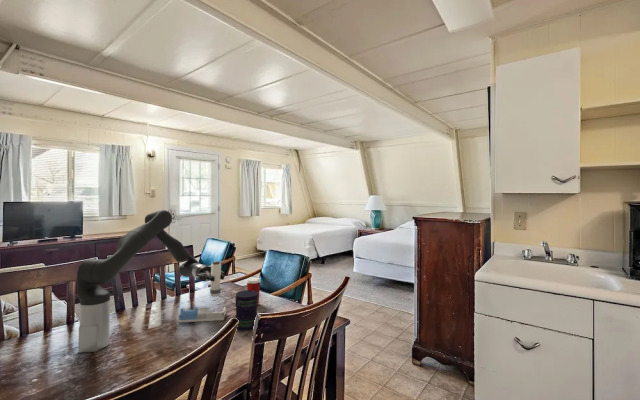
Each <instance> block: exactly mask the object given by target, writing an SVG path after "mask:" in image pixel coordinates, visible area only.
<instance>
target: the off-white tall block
mask: <svg viewBox="0 0 640 400" xmlns="http://www.w3.org/2000/svg"><path fill="white" fill-rule="evenodd" d="M210 267H211V276H214V281H213V282H212V281H210V291H209V293H210V297H219V296H220V295H221V291H222V289H221V280H222V279H221V270H222V263H221V261H219V260H215V261H212V263H211V265H210Z"/></svg>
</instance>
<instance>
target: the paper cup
mask: <svg viewBox="0 0 640 400" xmlns="http://www.w3.org/2000/svg"><path fill="white" fill-rule="evenodd" d="M245 281H246V289H247V290H253V291H256V292H258V295H257V296H258V305H259V303H260V302H259V301H260V291H261V282H262V281H261V278H260V277H248V278H247V280H245Z"/></svg>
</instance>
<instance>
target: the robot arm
mask: <svg viewBox="0 0 640 400" xmlns="http://www.w3.org/2000/svg"><path fill="white" fill-rule="evenodd" d="M172 221H173V217H172V214H171V212H170V211H168V210H165V209H160V210H156V211H154V212H151V213H148V214H146V216H145V218H144V224H141V225H139V226H137V227H135V228H134V229H131V230H130V231H129V232H127V233H126V234H125V235H123V236H122V237H121V238H120V239H119V240H118V242H117V247H116V252H114V253H113V254H112V255H111V256H110V257H107V258H105V259H98V258H97V259H96V258H92V259H91V258H89V259H86V260H83V261H82V262H81V263H80V264H79V266H78V268H77V271H76V288H77V289H76V290H77V292H76V293H77V297H78V299H79V325H78V342H77V343H78V344H77V345H78V350H77V351H78V353H79V354H80V353H92V352H93V353H94V352H98V351H100V350H101V349H104V348H105V347H107V346H109V344H110V325H111V324H110V323H111V322H110V317H111V314H110V313H111V293H110V292H109V291H108V290H107V289H105V288H103V287H102V286H101V285H105V284H108V283H109V282H111V281H112V280H113V279H114V278H115V277H116V276H117V275H118V274H119V272H120V271H121V270H122V269H123V268H124V267H125V266H126V265H127V264H128V263H129V262H130V261H131V260H132V259H133V257H134V256H135V255H137V254H138V253H140V251H142V249H144V248H145V247H146V245H148V244H149V243H150V242H151V241H152V240H153V239H154V238H155V237H156V238H157V239H158V240H159V241H160V242H161V243H162V244H163V246H165V247H166V248H167V250H168V252H169V253H170V254H171V256H172V257H173V259H174V260H175V261H176V262H177V263H180V262H183V261H185V260H186V261H185V262H184V263H182V264H181V265H179V267H178V272H179V274H180V275H181V276H183V277H184V278H190V277H191V278H192V277H193V278H195V280H197V281H201V282H207V281H210V282H211V281H212V282H213V281H214V276H211V266H209V265H207V264H201V263H199V261H198V260H197V259H196V258H194V257H193V256H192V255H191V254H190V253H189V252H188V251H187V249H186V248H185V246H184V244H183V243H182V242H181V241H179V240H178V239H176V238H175V237H173V236H171V235H170V234H169V233H167V231H166V230H165V229H166V228H169V226H170V225H171V223H172ZM221 280H225V272H224V271H223V270H222V269H221Z"/></svg>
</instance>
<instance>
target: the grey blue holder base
mask: <svg viewBox="0 0 640 400" xmlns="http://www.w3.org/2000/svg"><path fill="white" fill-rule="evenodd" d="M226 313H227V307H226V306H223V309H222V311H212V312H211V311H210V307H200V308H199V310H198V307H197V306H196V307H194V309H189V310H186V309H185V308H184V307H180V312H179V314H178V323H191V322H192V323H193V322H210V321H213V322H214V321H224V320H225V317H226Z"/></svg>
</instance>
